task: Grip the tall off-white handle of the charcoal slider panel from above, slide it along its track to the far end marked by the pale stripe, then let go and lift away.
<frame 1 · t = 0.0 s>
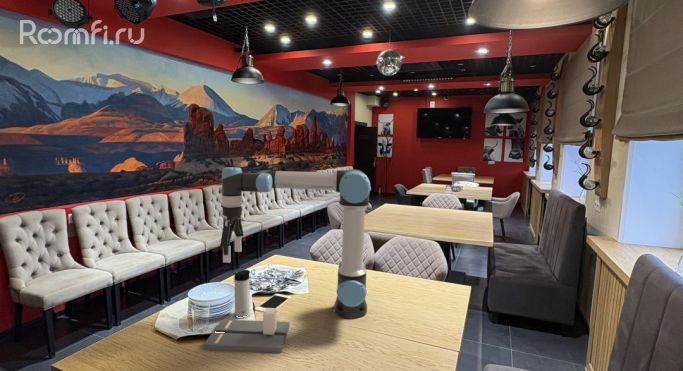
hand: (232, 256, 142), 28 cm above the table, tool pointing down, fingers open, 13 cm apart
cell phone: (273, 304, 162), on the table
slider handle: (270, 323, 133), point 6 cm above the table, slide at -8.0 cm
travel mug: (242, 315, 151), on the table
slider panel: (249, 337, 134), on the table
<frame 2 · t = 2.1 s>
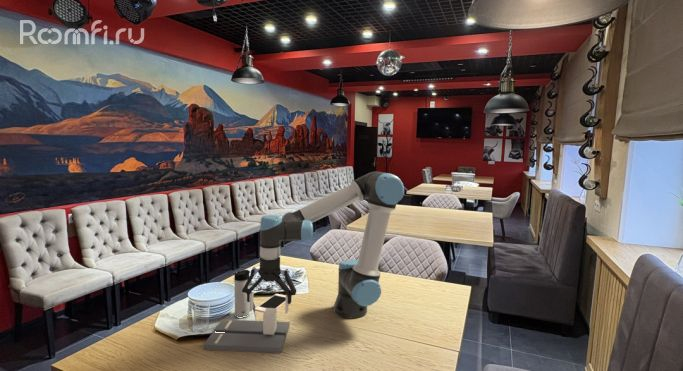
hand: (269, 310, 132), 11 cm above the table, tool pointing down, fingers open, 13 cm apart
nothing on the table moved.
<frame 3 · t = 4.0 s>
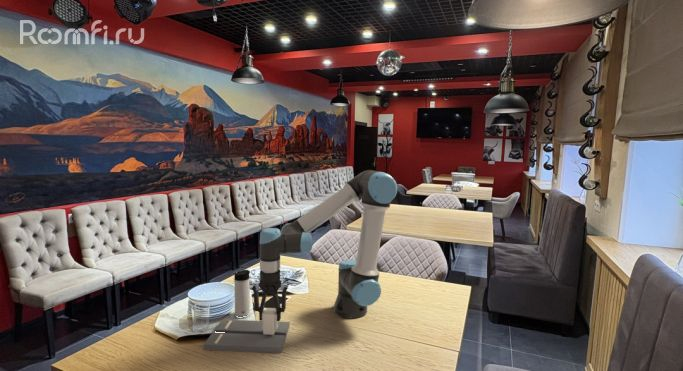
hand: (270, 328, 133), 4 cm above the table, tool pointing down, fingers closed on slider handle, 4 cm apart
slider handle: (270, 323, 133), point 6 cm above the table, slide at -8.0 cm, touching gripper
everything else where it was.
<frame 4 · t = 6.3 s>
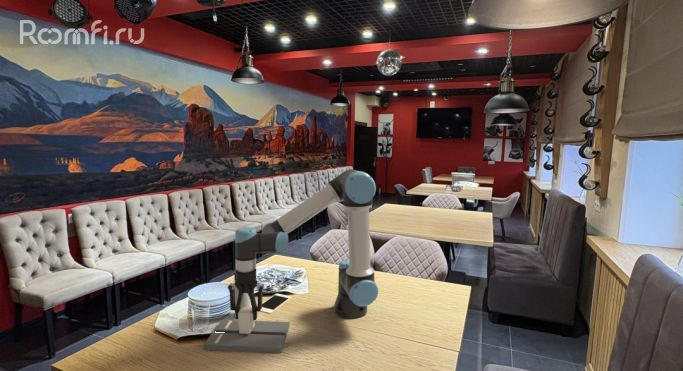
hand: (246, 327, 133), 4 cm above the table, tool pointing down, fingers closed on slider handle, 4 cm apart
slider handle: (246, 322, 133), point 6 cm above the table, slide at 1.1 cm, touching gripper
everything else where it was.
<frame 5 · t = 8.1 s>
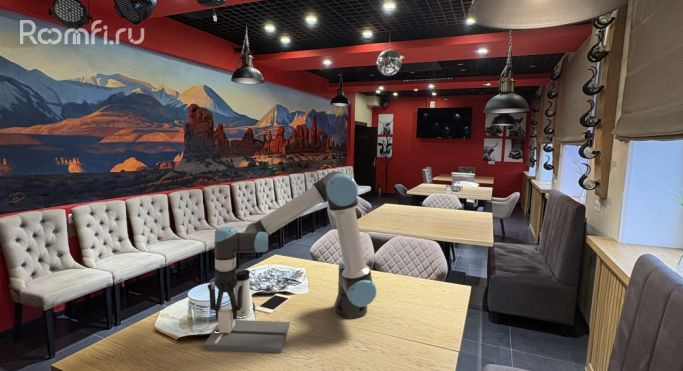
hand: (226, 326, 133), 4 cm above the table, tool pointing down, fingers closed on slider handle, 4 cm apart
slider handle: (226, 321, 133), point 6 cm above the table, slide at 8.8 cm, touching gripper
everything else where it was.
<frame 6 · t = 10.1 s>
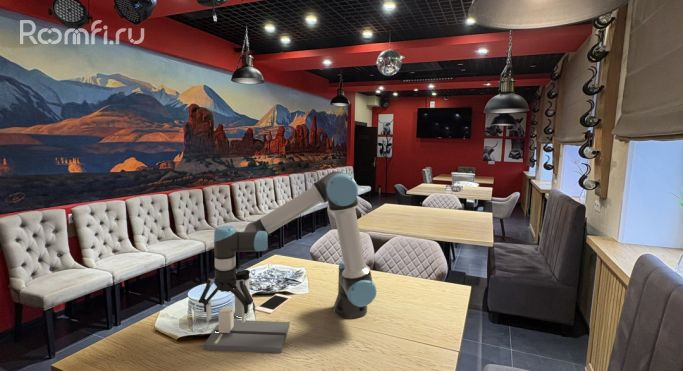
hand: (226, 320, 133), 7 cm above the table, tool pointing down, fingers open, 13 cm apart
slider handle: (226, 321, 133), point 6 cm above the table, slide at 9.0 cm
everything else where it was.
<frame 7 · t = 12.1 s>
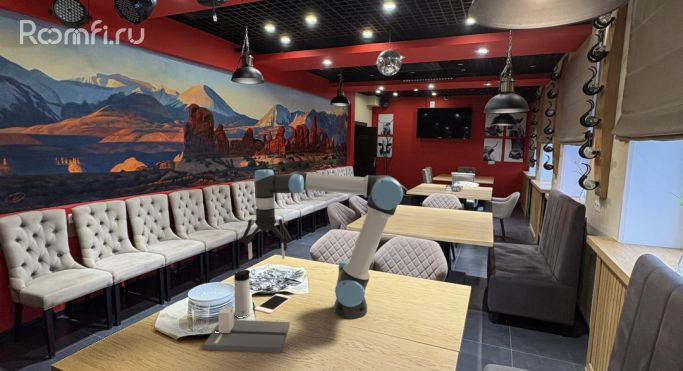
hand: (266, 258, 143), 27 cm above the table, tool pointing down, fingers open, 13 cm apart
nothing on the table moved.
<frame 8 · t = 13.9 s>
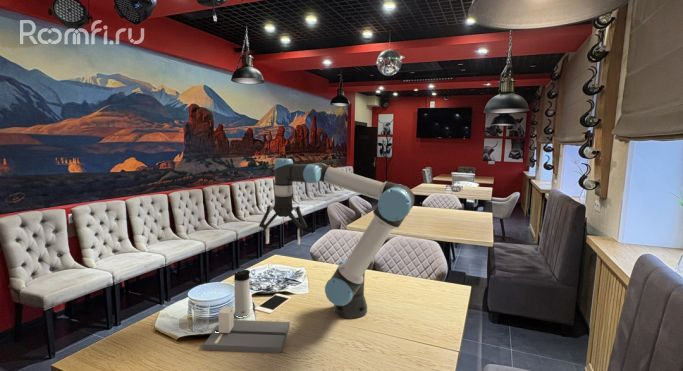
hand: (283, 243, 149), 32 cm above the table, tool pointing down, fingers open, 13 cm apart
nothing on the table moved.
at the end: slider handle slide at 9.0 cm; the gripper is holding nothing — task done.
